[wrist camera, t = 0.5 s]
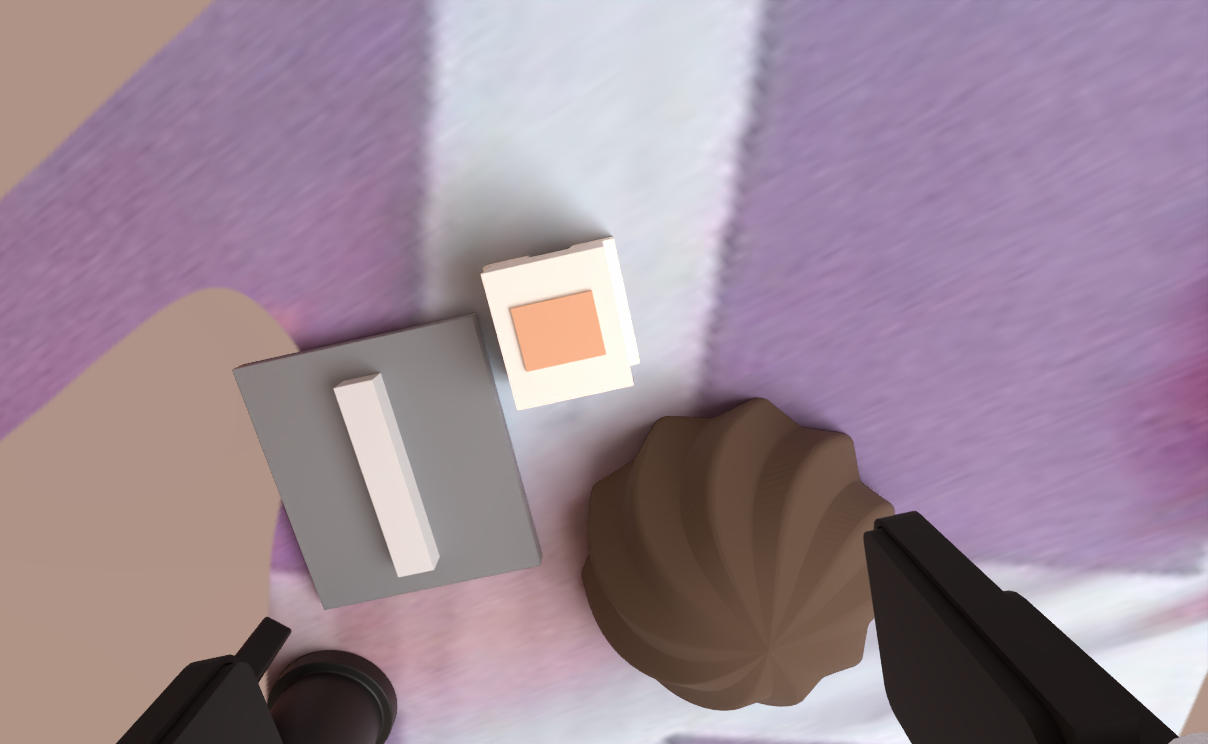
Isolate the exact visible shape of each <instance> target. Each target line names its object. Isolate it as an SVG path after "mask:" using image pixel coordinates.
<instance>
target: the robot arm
mask: <svg viewBox="0 0 1208 744" xmlns="http://www.w3.org/2000/svg"><path fill="white" fill-rule="evenodd" d="M863 540H864V548H865V555H866V562H867V569H868V576H869V583H870V590H871V596H872V603H873V610H874V617H875V624H876V631H877V637H878V644H879V651H880V658H881V665H882V672H883V679H884V685H885V690H886V694H887V697H888V700H889V703H890V706H891V708H892V710H893V712H894V714H895V716H896V718H897V720H898V721H899V723H900V725H901V726H902V728H903V730H904V731H905V733H906V735H907V736H908V738H909V740H910V741H911V743H912V744H1208V733H1193V734H1190V735H1186V736H1183V737H1178V736H1177V735H1176V734H1175V733H1174V732H1173V731H1172V730H1171V729H1170V728H1168V727H1167V726H1166V725H1165V724H1164V723H1163V722H1162V721H1161V720H1160V719H1158V718H1157V717H1156V716H1155V715H1154V714H1153V713H1152V712H1151V711H1150V710H1148V709H1147V708H1146V707H1145V706H1144V705H1143V704H1142V703H1141V702H1140V701H1138V700H1137V699H1136V698H1135V697H1134V696H1133V695H1132V694H1131V693H1130V692H1128V691H1127V690H1126V689H1125V688H1124V687H1123V686H1122V685H1121V684H1120V683H1118V682H1117V681H1116V680H1115V679H1114V678H1113V677H1112V676H1111V675H1110V674H1108V673H1107V672H1106V671H1105V670H1104V669H1103V668H1102V667H1101V666H1100V665H1098V664H1097V663H1096V662H1095V661H1094V660H1093V659H1092V658H1091V657H1090V656H1088V655H1087V654H1086V653H1085V652H1084V651H1083V650H1082V649H1081V648H1080V647H1079V646H1077V645H1076V644H1075V643H1074V642H1073V641H1072V640H1071V639H1070V638H1069V637H1067V636H1066V635H1065V634H1064V633H1063V632H1062V631H1061V630H1060V629H1059V628H1057V627H1056V626H1055V625H1054V624H1053V623H1052V622H1051V621H1050V620H1049V619H1047V618H1046V617H1045V616H1044V615H1043V614H1042V613H1041V612H1040V611H1039V610H1037V609H1036V608H1035V607H1034V606H1033V605H1032V604H1031V603H1030V602H1029V601H1027V600H1026V599H1025V598H1024V597H1022V596H1021V595H1019V594H1018V593H1017V592H1013V591H1002V590H1001V589H1000V588H999V587H998V586H997V585H996V584H995V583H994V582H993V581H992V580H991V579H989V578H988V577H987V576H986V575H985V574H984V573H983V572H982V571H981V570H980V569H979V568H978V567H977V566H976V565H974V564H973V563H972V562H971V561H970V560H969V559H968V558H967V557H966V556H965V555H964V554H963V553H962V552H960V551H959V550H958V549H957V548H956V547H955V546H954V545H953V544H952V543H951V542H950V541H949V540H948V539H947V538H945V537H944V536H943V535H942V534H941V533H940V532H939V531H938V530H937V529H936V528H935V527H934V526H933V525H932V524H930V523H929V522H928V521H927V520H926V519H925V518H924V517H923V516H922V515H921V514H920V513H918V512H916V511H911V512H906V513H902V514H897V515H892V516H887V517H883V518H878V519H876V520H875V521H874V530H871V531H866V532H864V536H863ZM116 744H283V742H282V740H281V737H280V735H279V732H278V730H277V728H276V725H275V723H274V720H273V718H272V715H271V713H270V711H269V708H268V706H267V703H266V701H265V699H264V696H263V694H262V691H261V689H260V687H259V684H258V682H257V679H256V677H255V674H254V672H253V670H252V668H251V666H250V665H249V664H247V663H245V662H241V661H240V659H239V658H237V657H236V656H233V655H226V656H221V657H216V658H211V659H207V660H202V661H197V662H193V663H190V664H189V665H188V666H186V668H184V669H183V670H182V671H181V672H180V674H179V675H178V676H177V677H176V678H175V679H174V680H173V681H172V682H171V684H170V685H169V686H168V687H167V688H166V689H165V690H164V691H163V692H162V693H161V695H160V696H159V697H158V698H157V699H156V700H155V701H154V702H153V704H152V705H151V706H150V707H149V708H148V709H147V710H146V711H145V712H144V714H143V715H142V716H141V717H140V718H139V719H138V720H137V721H136V722H135V723H134V724H133V726H132V727H131V728H130V729H129V730H128V731H127V732H126V733H125V734H124V735H123V737H122V738H121V739H120V740H119V741H118V742H117V743H116Z"/></svg>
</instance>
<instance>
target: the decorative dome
mask: <svg viewBox="0 0 1208 744" xmlns="http://www.w3.org/2000/svg"><path fill="white" fill-rule="evenodd" d="M892 515H895V510H894V507H893V505H892V504H891V503H890V502H888V501H887V500H885V499H884V498H882V497H881V496H879V495H878V494H877V493H875V492H874V491H872V490H871V489H870V488H869V487H867V486H866V485H865V484H864V483H863V482H861V480H860V476H859V471H858V466H857V460H856V454H855V449H854V443H853V440H852V439H851V437H850V436H848V435H847V434H844V433H838V432H831V431H825V430H818V429H812V428H806V427H801V426H799V425H798V424H797V423H796V422H794V421H793V420H792V419H791V418H789V417H788V416H787V415H786V414H784V413H783V412H782V411H781V410H779V409H778V408H777V407H776V406H774V405H773V404H772V403H771V402H770V401H768V400H767V399H764V398H754V399H752V400H750V401H748V402H746V403H743V404H741V405H739V406H737V407H735V408H733V409H731V410H729V411H727V412H724V413H722V414H720V415H718V416H716V417H714V418H701V417H680V416H665V417H662V418H660V419H659V420H658V421H657V422H656V423H655V424H654V426H653V427H652V429H651V431H650V433H649V434H648V436H647V438H646V440H645V442H644V444H643V446H642V447H641V449H640V451H639V453H638V454H637V456H636V458H635V459H634V461H632V462H630V463H629V464H627V465H625V466H624V467H622V468H620V469H619V470H617V471H615V472H614V473H612V474H610V475H609V476H607V477H606V478H604V479H602V480H601V481H599V482H597V483H596V484H595V485H594V487H593V489H592V493H591V499H590V505H589V515H588V545H589V552H590V554H589V556H588V559H587V561H586V563H585V566H584V568H583V571H582V578H583V583H584V587H585V592H586V595H587V598H588V602H589V605H590V608H591V610H592V613H593V615H594V618H595V620H596V622H597V624H598V626H599V628H600V630H601V631H602V633H603V635H604V636H605V638H606V639H607V641H608V642H609V643H610V645H611V646H612V647H613V648H614V649H615V651H616V652H617V653H618V654H619V655H620V656H621V657H622V658H623V659H625V660H626V661H627V662H628V663H629V664H630V665H632V666H633V667H635V668H636V669H638V670H639V671H641V672H642V673H644V674H646V675H648V676H650V677H652V678H654V679H656V680H657V681H658V682H660V683H661V684H662V685H663V686H664V687H666V688H667V689H668V690H669V691H671V692H672V693H674V694H675V695H677V696H678V697H680V698H682V699H684V700H686V701H688V702H690V703H692V704H695V705H698V706H701V707H703V708H708V709H712V710H722V711H727V710H736V709H739V708H742V707H745V706H748V705H751V704H754V703H761V704H765V705H770V706H792V705H796V704H798V703H800V702H801V701H803V700H804V699H805V697H806V696H807V695H808V694H809V693H810V692H811V691H812V689H813V688H814V687H815V686H816V685H817V684H818V682H819V681H820V680H821V679H822V678H824V677H825V676H828V675H831V674H833V673H836V672H839V671H842V670H845V669H848V668H851V667H854V666H856V665H857V664H858V663H860V661H861V660H862V658H863V652H864V645H865V639H866V634H867V628H868V625H869V623H870V622H871V621H872V620H873V619H874V618H875V617H874V610H873V603H872V596H871V590H870V583H869V576H868V569H867V562H866V555H865V548H864V540H863V536H864V532H866V531H871V530H874V521H875V520H876V519H878V518H883V517H887V516H892Z"/></svg>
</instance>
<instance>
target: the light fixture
mask: <svg viewBox="0 0 1208 744" xmlns="http://www.w3.org/2000/svg"><path fill="white" fill-rule="evenodd" d="M290 634H291V629H290V628H288V627H286V626H284V625H282V624H281V623H279V622H277V621H275V620H273V619H271V618H269V617H265V618H264V619H263V620H262V622H261V623H260V624H259V626H258V627H257V628H256V629H255V631H254V632H253V633H252V634H251V636H250V637H249V638H248V640H247V641H246V642H245V643H244V645H243V646H242V647H241V649H240V650H239V651H238V652H237V654H236V655H235V656H236V657H237V658H239V659H240V661H241V662H245V663H247V664H249V665H250V666H251V668H252V670H253V672H254V674H255V677H256V679H257V682H258V683H259V681H260V680H261V678H262V677H263V675H264V673H265V672H266V670H267V669H268V667H269V666H270V664H271V663H272V661H273V660H274V658H275V657H276V655H277V654H278V652H279V650H280V649H281V647H282V646H283V644H284V643H285V641H286V640H287V638H288V637H289V635H290ZM267 706H268V708H269V711H270V713H271V715H272V718H273V720H274V723H275V725H276V728H277V730H278V732H279V735H280V737H281V740H282V742H283V744H384V743H385V741H386V740H387V738H388V736H389V734H390V732H391V729H392V726H393V724H394V721H395V718H396V714H397V698H396V694H395V691H394V688H393V686H392V684H391V682H390V681H389V679H388V678H387V677H386V675H385V674H384V673H383V672H382V671H381V670H380V669H379V668H378V667H377V666H375V665H374V664H373V663H371V662H369V661H368V660H366V659H364V658H362V657H360V656H357V655H354V654H351V653H347V652H342V651H320V652H315V653H311V654H308V655H305V656H303V657H301V658H299V659H297V660H296V661H294V662H293V663H292V664H290V665H289V666H288V667H287V668H286V669H285V670H284V671H283V673H282V674H281V675H280V677H279V679H278V680H277V682H276V683H275V685H274V686H273V688H272V690H271V692H270V695H269V698H268V702H267Z"/></svg>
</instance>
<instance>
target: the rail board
mask: <svg viewBox="0 0 1208 744" xmlns="http://www.w3.org/2000/svg"><path fill="white" fill-rule="evenodd" d="M232 371H233V374H234V376H235V379H236V381H237V384H238V387H239V389H240V392H241V394H242V397H243V399H244V402H245V404H246V407H247V410H248V413H249V415H250V418H251V421H252V423H253V426H254V428H255V431H256V433H257V436H258V439H259V441H260V444H261V447H262V449H263V452H264V454H265V457H266V459H267V462H268V465H269V467H270V470H271V473H272V475H273V478H274V481H275V483H276V486H277V488H278V491H279V494H280V496H281V499H282V502H283V504H284V507H285V509H286V512H287V515H288V517H289V520H290V522H291V525H292V528H293V530H294V533H295V535H296V538H297V541H298V543H299V546H300V549H301V551H302V554H303V556H304V559H305V562H306V564H307V567H308V569H309V572H310V575H311V577H312V580H313V583H314V585H315V588H316V590H317V593H318V596H319V598H320V601H321V603H322V606H323V609H324V610H327V609H332V608H337V607H342V606H347V605H351V604H356V603H361V602H366V601H371V600H376V599H381V598H386V597H390V596H395V595H400V594H405V593H410V592H415V591H420V590H425V589H430V588H434V587H439V586H444V585H449V584H454V583H459V582H464V581H469V580H473V579H478V578H483V577H488V576H493V575H498V574H503V573H508V572H512V571H517V570H522V569H527V568H532V567H537V566H541V561H542V552H541V549H540V545H539V541H538V538H537V534H536V530H535V527H534V523H533V520H532V516H531V512H530V509H529V505H528V501H527V498H526V494H525V490H524V487H523V483H522V480H521V476H520V472H519V469H518V465H517V461H516V458H515V454H514V450H513V447H512V443H511V440H510V436H509V432H508V429H507V425H506V421H505V418H504V414H503V410H502V407H501V403H500V400H499V396H498V392H497V389H496V385H495V381H494V378H493V374H492V370H491V367H490V363H489V360H488V356H487V352H486V349H485V345H484V341H483V338H482V334H481V331H480V327H479V323H478V320H477V316H476V313H472V314H468V315H463V316H459V317H454V318H450V319H445V320H441V321H436V322H432V323H427V324H423V325H418V326H414V327H409V328H405V329H400V330H396V331H391V332H387V333H382V334H378V335H373V336H369V337H364V338H360V339H355V340H351V341H346V342H342V343H337V344H333V345H328V346H324V347H319V348H315V349H310V350H306V351H301V352H297V353H292V354H288V355H284V356H280V357H275V358H270V359H266V360H261V361H256V362H252V363H248V364H243V365H241V366H239V367H237V368H235V369H233V370H232Z"/></svg>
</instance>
